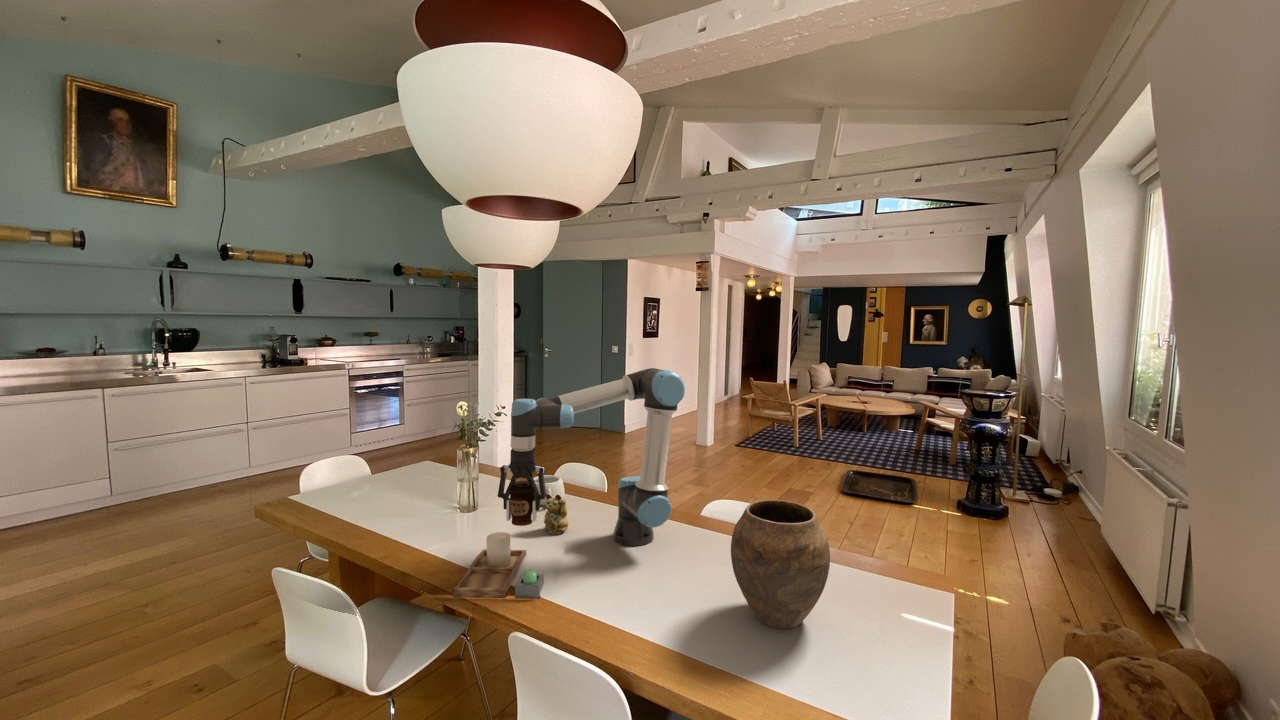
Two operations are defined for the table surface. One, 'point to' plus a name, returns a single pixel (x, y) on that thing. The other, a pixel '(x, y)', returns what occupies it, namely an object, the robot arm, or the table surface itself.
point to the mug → (551, 487)
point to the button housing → (529, 588)
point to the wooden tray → (488, 577)
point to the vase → (780, 561)
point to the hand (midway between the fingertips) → (521, 519)
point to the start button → (529, 576)
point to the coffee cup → (521, 503)
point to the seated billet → (498, 549)
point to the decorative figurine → (555, 514)
